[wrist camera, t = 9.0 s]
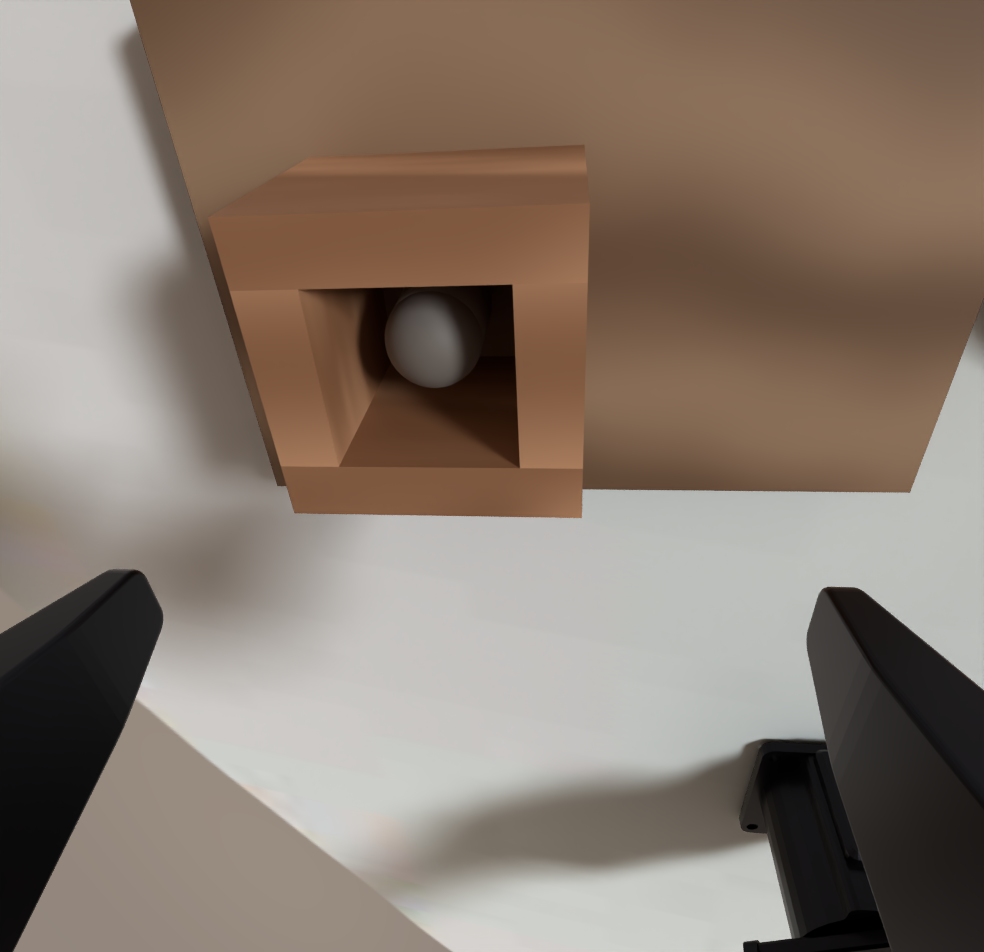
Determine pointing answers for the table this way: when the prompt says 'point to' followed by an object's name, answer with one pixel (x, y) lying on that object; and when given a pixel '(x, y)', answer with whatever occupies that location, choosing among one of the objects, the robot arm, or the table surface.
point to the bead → (362, 320)
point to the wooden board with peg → (650, 202)
